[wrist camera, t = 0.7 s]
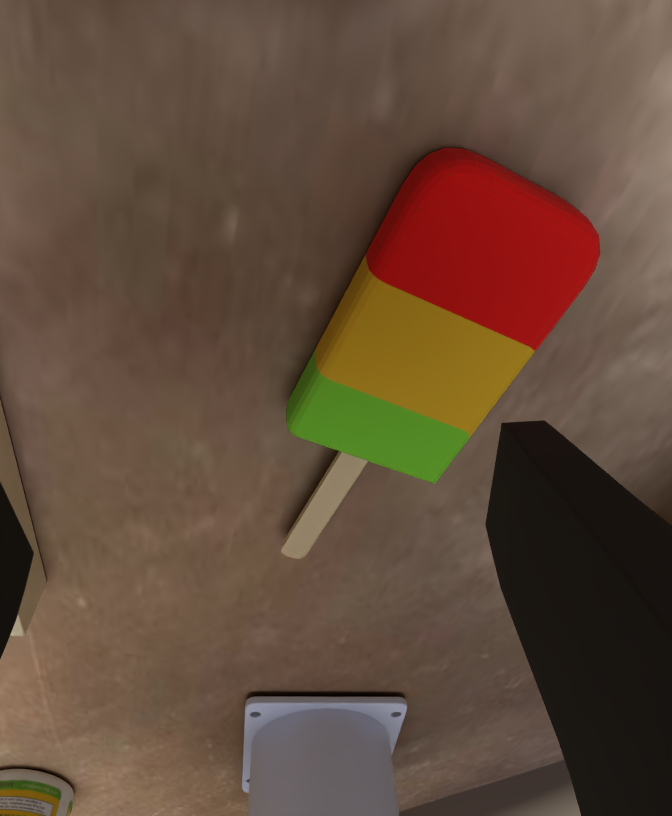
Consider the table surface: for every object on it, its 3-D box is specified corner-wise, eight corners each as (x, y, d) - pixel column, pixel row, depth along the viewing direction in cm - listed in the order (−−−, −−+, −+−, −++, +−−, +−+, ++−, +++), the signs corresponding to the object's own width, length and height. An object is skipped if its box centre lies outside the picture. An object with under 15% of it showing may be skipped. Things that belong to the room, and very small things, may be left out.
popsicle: (599, 215, 17) (630, 241, 15) (353, 554, 25) (357, 593, 23) (428, 123, 15) (443, 140, 14) (222, 516, 23) (216, 555, 21)
